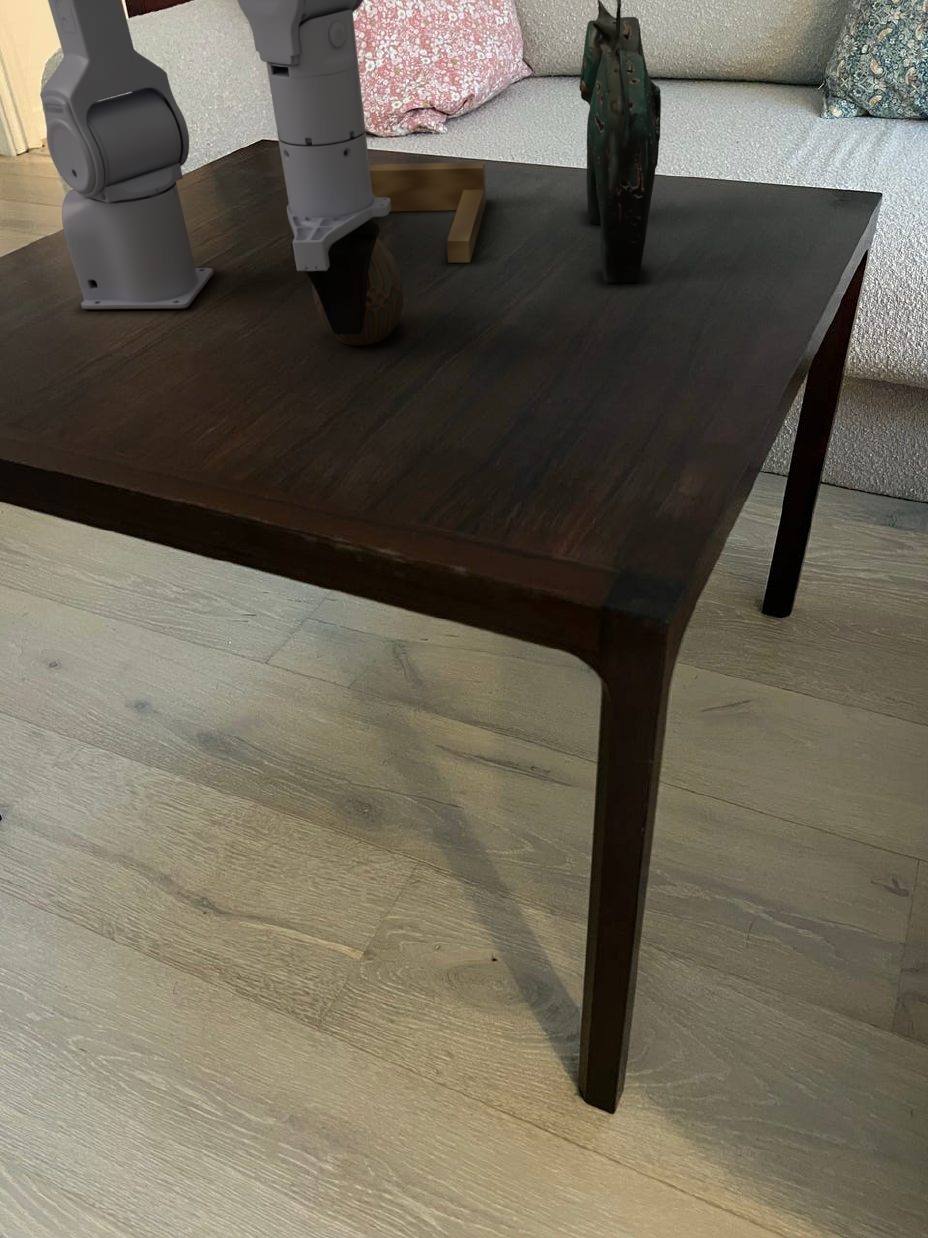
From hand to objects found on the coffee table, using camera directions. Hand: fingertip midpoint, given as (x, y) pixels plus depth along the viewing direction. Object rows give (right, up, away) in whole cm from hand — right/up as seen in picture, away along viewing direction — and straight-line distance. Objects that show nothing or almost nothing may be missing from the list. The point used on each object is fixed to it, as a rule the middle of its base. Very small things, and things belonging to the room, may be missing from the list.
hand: (348, 331), depth 75 cm
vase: (+1, +1, +5) cm, 5 cm away
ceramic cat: (+22, +13, +17) cm, 31 cm away
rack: (+3, +15, +22) cm, 27 cm away
